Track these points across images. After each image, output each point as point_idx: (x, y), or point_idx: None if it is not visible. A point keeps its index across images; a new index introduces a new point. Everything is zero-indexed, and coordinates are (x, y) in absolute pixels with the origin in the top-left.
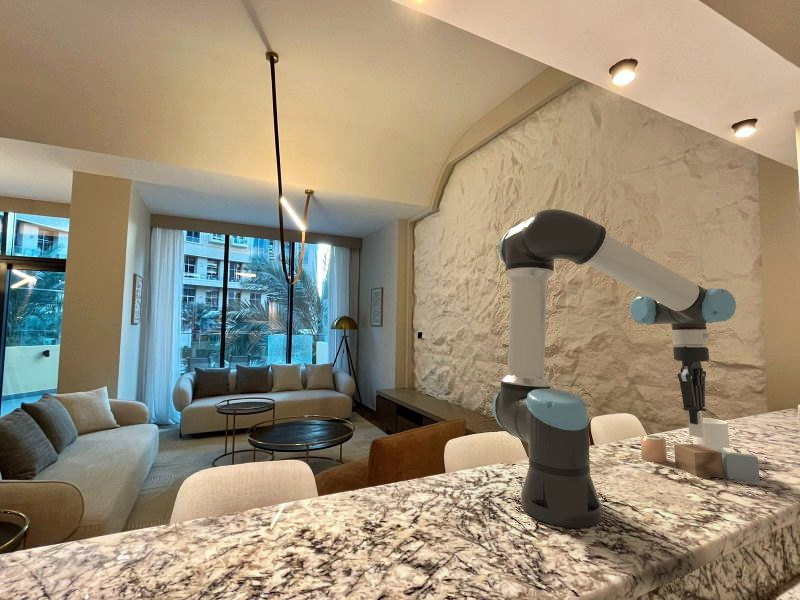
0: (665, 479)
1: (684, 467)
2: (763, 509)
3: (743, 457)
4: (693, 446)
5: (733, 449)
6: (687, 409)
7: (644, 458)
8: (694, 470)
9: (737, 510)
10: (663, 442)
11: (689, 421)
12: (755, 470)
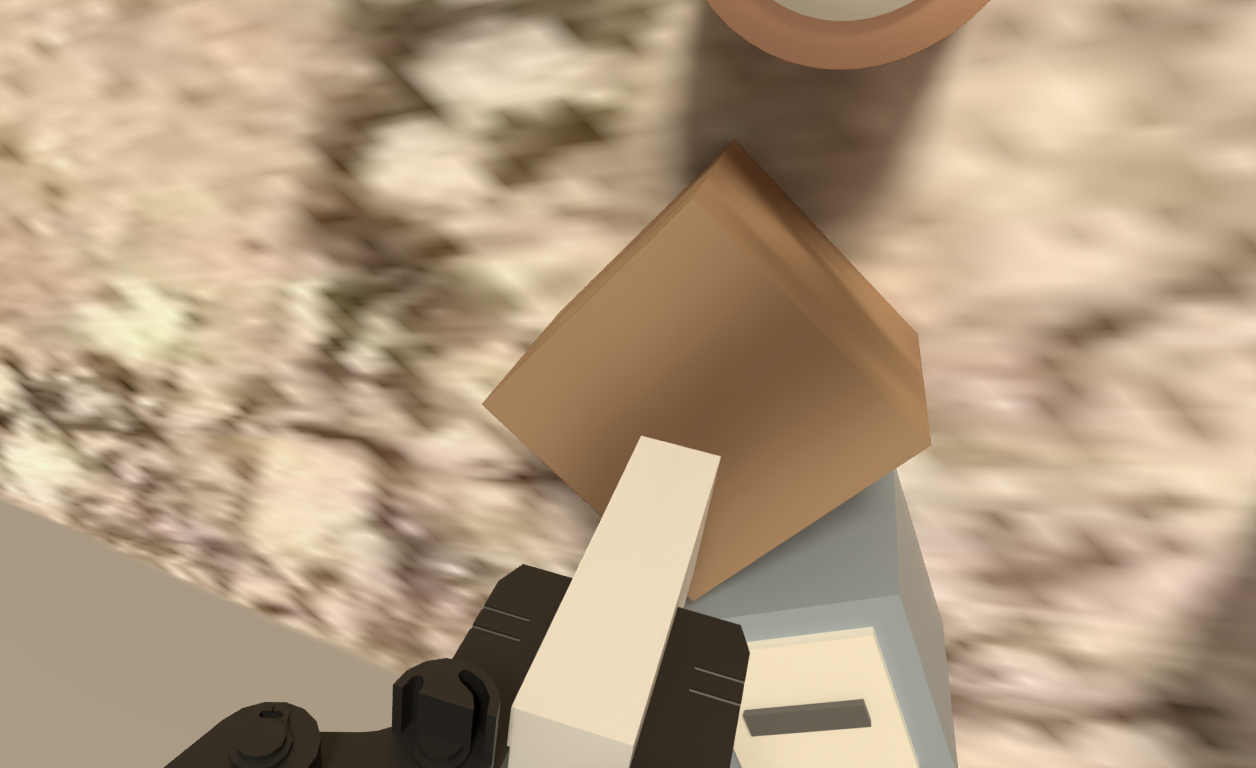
0: (293, 127)
1: (638, 236)
2: (269, 590)
3: None
4: (753, 391)
5: (846, 699)
6: (403, 727)
7: None
8: (553, 321)
9: (148, 496)
10: (771, 50)
11: (576, 571)
12: None
